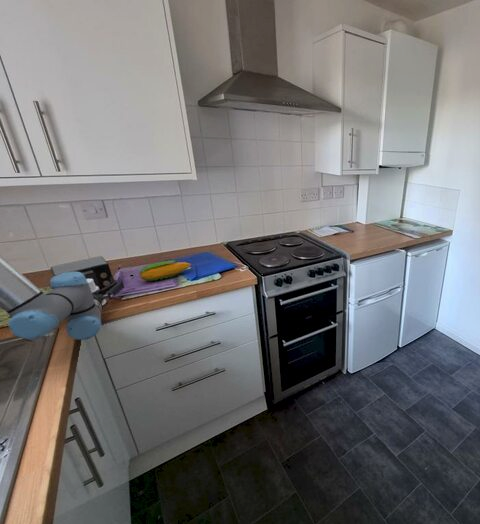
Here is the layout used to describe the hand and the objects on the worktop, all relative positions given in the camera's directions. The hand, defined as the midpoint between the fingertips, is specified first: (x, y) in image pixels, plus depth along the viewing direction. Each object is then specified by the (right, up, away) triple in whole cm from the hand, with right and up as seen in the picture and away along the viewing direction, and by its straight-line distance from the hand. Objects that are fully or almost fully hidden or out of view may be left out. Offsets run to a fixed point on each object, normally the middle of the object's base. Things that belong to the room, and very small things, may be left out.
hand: (90, 283), depth 114 cm
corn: (+17, +2, +21) cm, 27 cm away
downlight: (+4, -8, -2) cm, 9 cm away
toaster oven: (-7, -4, +8) cm, 11 cm away
